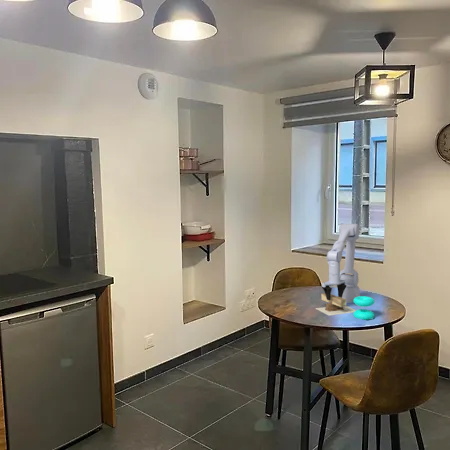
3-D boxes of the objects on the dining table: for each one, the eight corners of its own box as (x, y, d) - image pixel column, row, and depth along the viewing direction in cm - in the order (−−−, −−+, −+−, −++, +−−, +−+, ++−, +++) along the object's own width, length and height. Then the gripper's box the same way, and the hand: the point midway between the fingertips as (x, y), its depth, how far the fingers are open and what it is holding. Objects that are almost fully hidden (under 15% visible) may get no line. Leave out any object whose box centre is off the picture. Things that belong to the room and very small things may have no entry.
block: (339, 307, 248) (339, 301, 248) (344, 309, 244) (344, 303, 244) (324, 309, 246) (324, 303, 245) (328, 311, 241) (328, 305, 241)
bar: (326, 299, 253) (326, 292, 253) (346, 305, 239) (346, 299, 238) (321, 300, 252) (321, 293, 251) (340, 306, 237) (340, 300, 237)
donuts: (372, 295, 235) (375, 300, 225) (372, 315, 236) (375, 321, 226) (352, 295, 237) (354, 300, 227) (352, 314, 238) (354, 320, 228)
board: (344, 305, 254) (344, 304, 254) (359, 312, 240) (359, 311, 240) (315, 309, 248) (315, 308, 248) (328, 316, 235) (328, 315, 235)
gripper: (340, 270, 250) (340, 295, 251) (318, 273, 243) (318, 299, 245) (349, 272, 243) (349, 298, 245) (326, 276, 237) (326, 302, 238)
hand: (334, 298), depth 244 cm, fingers open, 7 cm apart
